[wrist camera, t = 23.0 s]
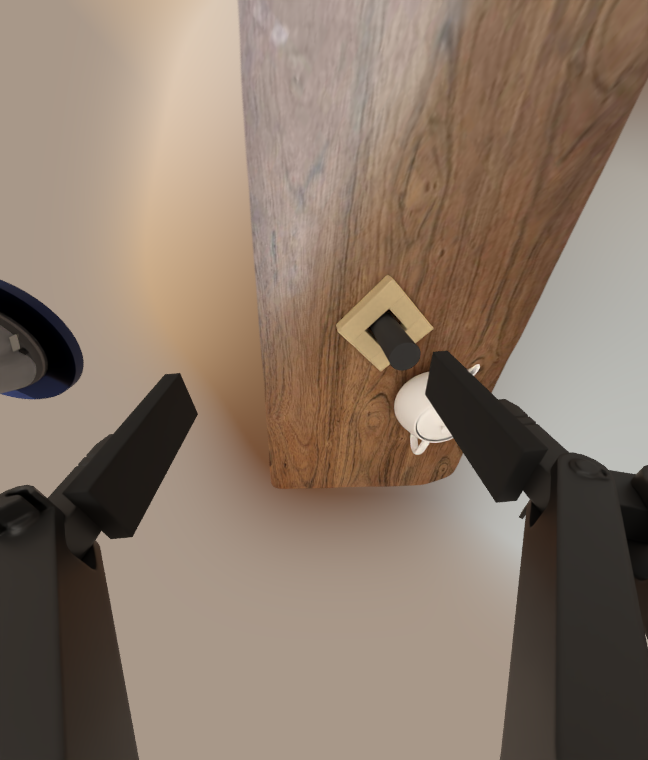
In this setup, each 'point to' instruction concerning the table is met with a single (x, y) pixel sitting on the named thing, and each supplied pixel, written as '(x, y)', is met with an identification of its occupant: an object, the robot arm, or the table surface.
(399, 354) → the black cylinder peg
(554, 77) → the table surface
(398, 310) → the base pad
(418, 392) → the teapot
